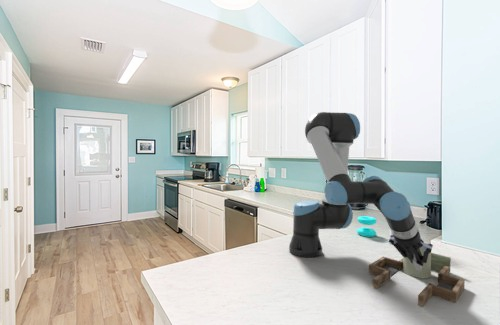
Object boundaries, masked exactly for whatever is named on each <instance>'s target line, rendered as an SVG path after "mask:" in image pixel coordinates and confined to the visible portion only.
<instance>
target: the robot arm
mask: <svg viewBox="0 0 500 325" xmlns="http://www.w3.org/2000/svg"><path fill="white" fill-rule="evenodd" d="M360 133H361V122H360V119H359V118H358V117H357V115H355V114H354V113H351V112H350V113H349V112H327V111H321V112H318V113H316V114H313V115H311V117H310V118H309V119H308V121H307V122H306V125H305V128H304V134H305V138H306V141H307V142H308V143H309V144H310V145H311V147H312V148H313V150H314V153H315V155H316V157H317V160H318V163H319V165H320V168H321V170H322V172H323V175H324V177H325V179H326V184H325V186H324V197H323V198H322V199H321V203H320V202H319V201H318V200H303V201H302V200H301V201H298V202H297V203H294V205H293V213H292V214H293V229H292V230H293V231H292V235H291V236H292V237H291V239H290V243H289V247H288V252H290V253H291V254H293V255H295V256H298V257H303V258H317V257H319V256H322V254H323V247H322V242H321V239H320V236H319V232H320V230H340V229H346V228H348V227H349V226H350V225H351V224H352V221H353V216H354V215H353V214H354V213H353V208H352V206H351V205H371V204H372V205H374V206H375V208H377V210H378V211H379V212H380V213H381V215H382V216H383V217H384V219H385V220H386V222H387V225H388V228H389V230H390V229H391V231H392V234H393V235H391V236H390V237H389V238H390V239H389V238H388V242H389V244H391V245H393V247H394V248H395V249H396V250H397V252H398V253H399V254H400V255H401V256H402V257H403V258H406V257H408V259H410V261H411V263H413V264H414V266H415V268H416V270H417V271H421V270H422V266H423V264H424V263H427V259H428V255H429V253H430V252H431V253H432V250H433V248H434V247H433V246H434V244H432V243H429V244H425V243H424V242H425V241H424V240H423V239H422V238H421V234H420V231H419V227H418V226H417V223H416V220H415V216H414V215H413V210H412V208H411V204H410V202H409V201H408V199H407V197H406V196H405V195H404V194H403V193H401V192H400V193H399V192H397V191H395V190H393V188H391V186H390V185H388V183H387V181H385V180H383V179H382V178H381V177H380V176H377V175H371V176H370V177H366V178H364V179H363V181H356V180H355V181H353V180H352V178H350V175H349V173H348V170H349V169H348V168H349V167H348V166H349V156H350V155H349V154H350V147H351V146H352V145H353V144H354V140H356V139H358V138H359V135H360ZM421 247H423V249H424V255H423V256H422V254H421V251H420V248H421Z"/></svg>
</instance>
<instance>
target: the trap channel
mask: <svg viewBox="0 0 500 325" xmlns="http://www.w3.org/2000/svg"><path fill="white" fill-rule="evenodd" d="M451 258H452V257H451V256H447V255H442V254H438V253H434V252H431V270H432V269H433V270H436V271H438V273H437V282H438V283H437V284H433V283H430V282H428V284H427V285H426V286H425V287H424V288H423V289H422V290H421V291H420V292H419V293H418V294H417V306H420V307H424V306H425V304H426V303H427V302H429V300H430V299H431V297H432V296H434V297H437V298H440V299H443V300H446V301H449V302H452V303H455V304H456V303H457V302H458V300H459V298H460V296H461V295H462V293H463V291H464V290H465V279H463V278H459V277H456V276H452V275H450V274H451V263H452V262H451V260H452V259H451ZM403 259H404V257H403V258H401V259H400V260H397V259H393V258H390V257H388V256H387V257H386V256H381V257H380V258H378V259H376V260H375V261H374V262H372V263H370V264H368V273H369V274H371V275H374V276H375V277H374V278H373V280H372V281H373V284H372V288H373V289H376V290H377V289H379V288H380V287H381V286H383V285H384V284H385V283H387V282H388V281H389V280H390V279H391V277H392V276H394V274H396V273H397V272H399V271H403Z"/></svg>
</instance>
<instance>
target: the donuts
mask: <svg viewBox="0 0 500 325" xmlns="http://www.w3.org/2000/svg"><path fill="white" fill-rule="evenodd" d="M357 221H358V223H359V224H362V225H365V226H366V227H359V228H357V230H356V232H357V234H358V235H360V236H361V237H365V238H373V237H375V236H376V235H377V232H376V231H375V229H374V228H370V227H367V226H374V225H375V224H376V223H377V219H376V218H375V217H372V216H366V215H365V216H364V215H363V216H358V217H357Z"/></svg>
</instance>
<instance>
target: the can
mask: <svg viewBox="0 0 500 325" xmlns="http://www.w3.org/2000/svg"><path fill="white" fill-rule="evenodd" d="M424 243H425V244H430V242H429V243H428V242H427V241H424ZM420 251H421V254H422V256H423V255H424V249H423V247H421V248H420ZM431 253H432V251H431V252H430V253H429V255H428V259H427V263H424V264H423V266H422V270H421V271H417V270H416V268H415V266H414V264H413V263H411V261H410V259H408V257H406V258H404V257H403V258H404V259H403V269H402V271H403V272H404V273H405V274H407V275H408V276H411V277H415V278H418V279H419V278H420V279H429V278H431V277H432V272H431V271H432V268H431Z"/></svg>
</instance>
